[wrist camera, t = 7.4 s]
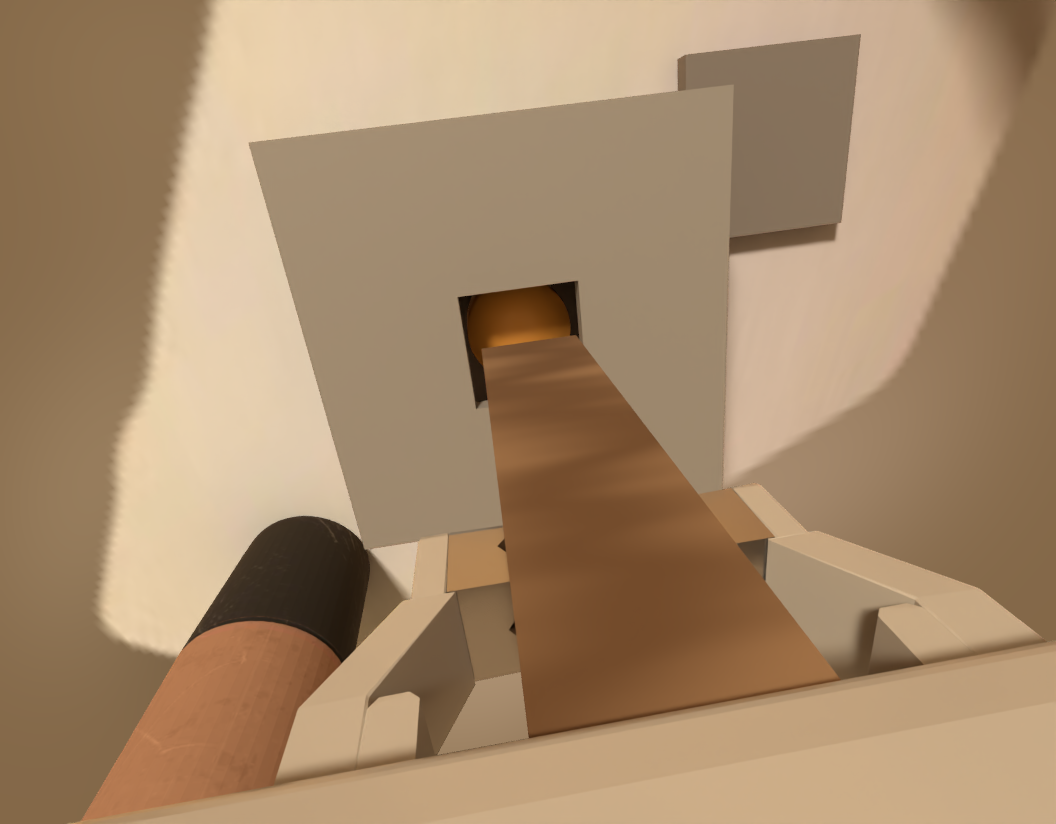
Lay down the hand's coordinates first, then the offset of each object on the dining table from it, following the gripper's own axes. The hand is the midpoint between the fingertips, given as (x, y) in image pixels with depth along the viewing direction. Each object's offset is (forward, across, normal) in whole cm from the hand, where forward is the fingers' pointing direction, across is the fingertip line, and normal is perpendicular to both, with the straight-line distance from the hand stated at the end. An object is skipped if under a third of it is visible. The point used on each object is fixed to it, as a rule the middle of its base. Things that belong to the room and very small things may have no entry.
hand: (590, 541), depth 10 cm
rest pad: (+20, -13, -6) cm, 25 cm away
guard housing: (+20, 0, 0) cm, 20 cm away
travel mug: (+21, +14, +14) cm, 28 cm away
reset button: (+17, 0, 0) cm, 17 cm away
